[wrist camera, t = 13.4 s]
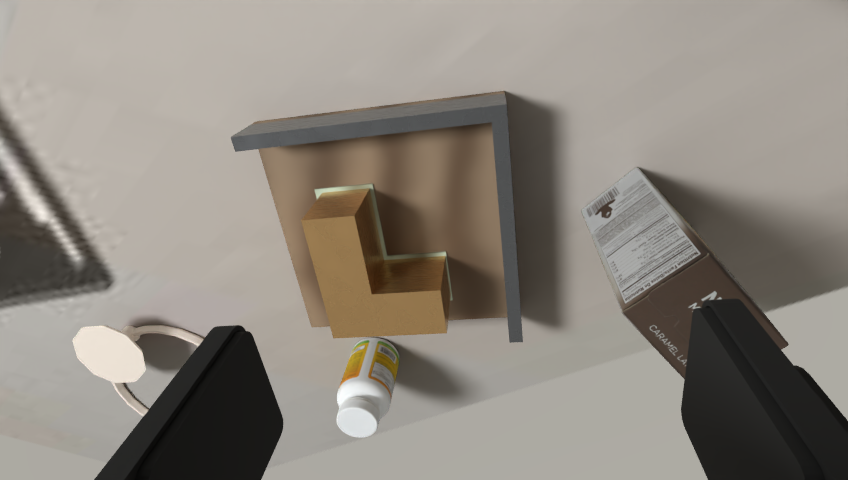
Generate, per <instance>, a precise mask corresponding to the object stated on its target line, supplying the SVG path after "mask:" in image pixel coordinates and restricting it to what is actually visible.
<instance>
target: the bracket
mask: <svg viewBox="0 0 848 480" xmlns="http://www.w3.org/2000/svg"><path fill="white" fill-rule="evenodd" d="M301 222H302V226H303V229H304V233H305V237H306V240H307V244H308V248H309V251H310V255H311V258H312V262H313V266H314V269H315V273H316V277H317V280H318V284H319V287H320V291H321V295H322V298H323V302H324V306H325V309H326V313H327V316H328V320H329V324H330V327H331V331H332V335H333V338H350V337H372V336H394V335H416V334H438V333H447V326H448V317H449V308H450V299H451V293H450V285H449V278H448V271H447V264H446V256H436V257H422V258H408V259H393V260H384V257H383V252H382V247H381V242H380V237H379V232H378V227H377V222H376V217H375V212H374V207H373V202H372V197H371V192H370V188H367V189H356V190H346V191H335V192H325V193H322V194H321V195H320V196H319V198H318V199H317V200H316V202H315V203H314V204H313V205H312V207H311V208H310V209H309V211H308V212H307V213H306V215H305V216H304V217H303V218H302V220H301Z"/></svg>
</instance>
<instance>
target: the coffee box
mask: <svg viewBox="0 0 848 480" xmlns="http://www.w3.org/2000/svg"><path fill="white" fill-rule="evenodd" d="M581 212H582V214H583V217H584V219H585V221H586V224H587V227H588V229H589V231H590V234H591V236H592V238H593V241H594V244H595V246H596V248H597V251H598V254H599V256H600V259H601V261H602V264H603V266H604V269H605V271H606V274H607V276H608V279H609V281H610V284H611V286H612V289H613V291H614V294H615V296H616V299H617V301H618V304H619V306H620V309H621V312H622V314H623V315H624V316H625V317H626V318H627V319H628V320H629V321H630V322H631V323H632V325H633V326H634V327H635V328H636V329H637V330H638V331H639V332H640V333H641V334H642V335H643V336H644V337H645V338H646V339H647V340H648V341H649V342H650V343H651V344H652V346H653V347H654V348H655V349H656V350H658V351H659V353H660V354H661V355H662V356H663V357H664V358H665V359H666V360H667V361H668V362H669V363H670V364H671V366H672V367H673V368H674V369H675V370H676V371H677V372H678V373H679V374H680V375H681V376H682V377H683V378H684V379H685V373H686V364H687V356H688V347H689V339H690V331H691V322H692V314H693V311H694V309H695V308H702V304H703V303H704V301H706V300H716V299H735V298H736V299H740V300H741V301H742V302H743V303H744V305H745V306H746V307H747V308H748V310H749V311H750V312H751V313H752V315H753V316H754V317H755V318H756V320H757V321H758V322H759V323H760V325H761V326H762V327H763V328H764V330H765V331H766V332H767V333H768V335H769V336H770V337H771V338H772V339H773V341H774V342H775V343H776V344H777V346H778V347H779V348H780V349H783V348H785V347H786V346H788V342H787V341H785V339H784V338H783V337H782V336H781V334H780V333H779V332H778V330H777V329H776V328H775V327H774V325H773V324H772V323H771V322H770V320H769V319H768V318H767V317H766V315H765V314H764V313H763V312H762V310H761V309H760V308H759V307H758V306H757V304H756V303H755V302H754V301H753V299H752V298H751V297H750V296H749V294H748V293H747V292H746V291H745V290H744V289H743V287H742V286H741V285H740V284H739V283H738V281H737V280H736V279H735V278H734V277H733V275H732V274H731V273H730V272H729V271H728V270H727V268H726V267H725V266H724V265H723V264H722V262H721V261H720V260H719V259H718V258H717V256H716V255H715V254H714V253H713V251H712V250H711V249H710V248H709V247H708V246H707V244H706V243H705V242H704V241H703V240H702V239H701V238H700V237H699V235H698V234H697V233H696V232H695V231H694V230H693V228H692V227H691V226H690V225H689V224H688V222H687V221H686V220H685V219H684V218H683V217H682V216H681V215H680V213H679V212H678V211H677V210H676V209H675V208H674V207H673V206H672V204H671V203H670V202H669V201H668V200H667V199H666V198H665V197H664V195H663V194H662V193H661V192H660V191H659V190H658V189H657V188H656V186H655V185H654V184H653V183H652V182H651V181H650V180H649V179H648V178H647V177H646V175H645V174H644V173H643V172H642V171H641V170H640V169H639V168H638V167H637V168H635V169H633V170H632V171H630V172H629V173H628V174H627V175H625V176H624V177H623V178H622V179H620V180H619V181H618V182H617V183H615V184H614V185H613V186H611V187H610V188H609V189H608V190H606V191H605V192H604V193H602V194H601V195H600V196H599V197H597V198H596V199H595V200H594V201H592V202H591V203H590V204H589V205H587V206H586V207H585V208H583V209H582V211H581Z"/></svg>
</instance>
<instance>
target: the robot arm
mask: <svg viewBox="0 0 848 480" xmlns="http://www.w3.org/2000/svg"><path fill="white" fill-rule="evenodd" d="M681 413H682V420H683V423H684V427H685V429H686V431H687V434H688V436H689V438H690V440H691V442H692V445H693V447H694V449H695V451H696V453H697V456H698V458H699V460H700V463H701V465H702V467H703V469H704V471H705V474H706V476H707V478H708V480H848V421H847V419H846V418H845V417H844V416H843V415H842V413H841V412H840V411H839V410H838V408H837V407H836V406H835V405H834V404H833V402H832V401H831V400H830V399H829V398H828V396H827V395H826V394H825V393H824V392H823V390H822V389H821V388H820V387H819V386H818V385H817V383H816V382H815V381H814V379H813V378H812V377H811V376H810V375H809V374H808V373H807V372H806V371H805V370H804V369H803V368H801V367H799V366H793V364H792V363H791V362H790V361H789V359H788V358H787V357H786V356H785V354H784V353H783V352H782V351H781V349H780V348H779V347H778V346H777V344H776V343H775V342H774V341H773V339H772V338H771V337H770V336H769V335H768V333H767V332H766V331H765V330H764V328H763V327H762V326H761V325H760V323H759V322H758V321H757V320H756V318H755V317H754V316H753V315H752V313H751V312H750V311H749V310H748V308H747V307H746V306H745V305H744V303H743V302H742V301H741V300H740V299H736V298H735V299H716V300H706V301H704V303H703V304H702V308H695V309H694V311H693V314H692V322H691V331H690V339H689V347H688V356H687V364H686V373H685V382H684V390H683V398H682V407H681ZM282 430H283V418H282V414H281V412H280V409H279V406H278V403H277V401H276V398H275V395H274V393H273V390H272V387H271V384H270V382H269V379H268V376H267V373H266V371H265V368H264V365H263V363H262V360H261V357H260V354H259V352H258V349H257V346H256V344H255V341H254V338H253V336H252V334H251V333H250V332H248V331H245V329H244V328H243V327H242V326H239V325H237V326H219V327H214V328H213V329H212V330H211V331H210V332H209V333H208V335H207V336H206V337H205V339H204V340H203V341H202V342H201V344H200V345H199V346H198V348H197V349H196V350H195V351H194V353H193V354H192V355H191V356H190V358H189V359H188V360H187V362H186V363H185V364H184V365H183V367H182V368H181V369H180V371H179V372H178V373H177V374H176V376H175V377H174V378H173V380H172V381H171V382H170V383H169V385H168V386H167V387H166V388H165V390H164V391H163V392H162V394H161V395H160V396H159V397H158V399H157V400H156V401H155V403H154V404H153V405H152V406H151V408H150V409H149V410H148V412H147V413H146V414H145V415H144V417H143V418H142V419H141V420H140V422H139V423H138V424H137V426H136V427H135V428H134V429H133V431H132V432H131V433H130V435H129V436H128V437H127V438H126V440H125V441H124V442H123V444H122V445H121V446H120V447H119V449H118V450H117V451H116V453H115V454H114V455H113V456H112V458H111V459H110V460H109V461H108V463H107V464H106V465H105V467H104V468H103V469H102V471H101V472H100V473H99V474H98V476H97V477H96V478H95V479H94V480H261V479H262V476H263V474H264V472H265V470H266V467H267V465H268V463H269V461H270V458H271V456H272V454H273V452H274V449H275V447H276V445H277V443H278V441H279V438H280V436H281V433H282Z"/></svg>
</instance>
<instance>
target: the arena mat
mask: <svg viewBox="0 0 848 480" xmlns="http://www.w3.org/2000/svg"><path fill="white" fill-rule="evenodd" d="M504 93H505V92H504V91H500V92H492V93H484V94H476V95H467V96H459V97H451V98H443V99H435V100H427V101H419V102H411V103H403V104H395V105H387V106H379V107H371V108H362V109H354V110H346V111H338V112H330V113H322V114H314V115H306V116H298V117H290V118H282V119H274V120H265V121H257V122H254V123H253V124H260V123H268V122H276V121H284V120H292V119H300V118H309V117H317V116H325V115H333V114H341V113H349V112H357V111H365V110H374V109H382V108H390V107H398V106H406V105H414V104H422V103H430V102H439V101H447V100H455V99H463V98H471V97H479V96H487V95H495V94H504ZM251 125H252V124H251ZM259 153H260V156H261V159H262V163H263V166H264V169H265V173H266V176H267V179H268V183H269V186H270V189H271V193H272V196H273V199H274V203H275V206H276V209H277V213H278V216H279V219H280V223H281V226H282V230H283V233H284V236H285V240H286V243H287V246H288V250H289V253H290V256H291V260H292V263H293V266H294V270H295V273H296V276H297V280H298V283H299V286H300V290H301V293H302V296H303V300H304V303H305V306H306V310H307V313H308V317H309V320H310V323H311V327H327V326H330V324H329V320H328V316H327V313H326V309H325V306H324V302H323V298H322V295H321V291H320V287H319V284H318V280H317V277H316V273H315V269H314V266H313V262H312V258H311V255H310V251H309V248H308V244H307V240H306V237H305V233H304V229H303V226H302V222H301V220H302V218H303V217H304V216H305V215H306V213H307V212H308V211H309V209H310V208H311V207H312V205H313V204H314V203H315V202H316V200H317V199H318V198H319V196H320V195H321V194H322V193H325V192H335V191H346V190H356V189H367V188H370V192H371V197H372V202H373V207H374V212H375V217H376V222H377V227H378V232H379V237H380V242H381V247H382V252H383V257H384V260H393V259H408V258H422V257H436V256H446V264H447V271H448V278H449V285H450V293H451V299H450V308H449V317H448V320H461V319H480V318H499V317H508V316H507V303H506V291H505V279H504V267H503V255H502V243H501V230H500V218H499V206H498V194H497V182H496V169H495V157H494V145H493V133H492V122H490V123H481V124H472V125H463V126H455V127H446V128H437V129H428V130H420V131H411V132H402V133H393V134H385V135H376V136H367V137H358V138H350V139H341V140H332V141H323V142H315V143H306V144H297V145H288V146H280V147H271V148H262V149H259Z"/></svg>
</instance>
